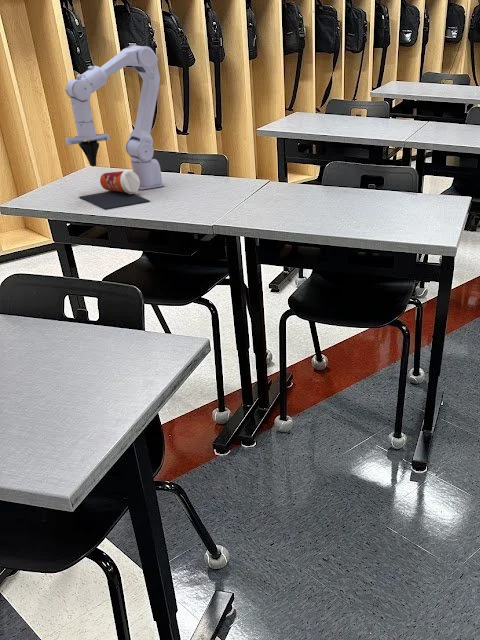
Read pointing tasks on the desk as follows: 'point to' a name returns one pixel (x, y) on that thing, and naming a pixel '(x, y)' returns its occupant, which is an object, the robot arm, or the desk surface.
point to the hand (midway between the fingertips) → (93, 165)
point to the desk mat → (114, 199)
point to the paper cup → (120, 181)
